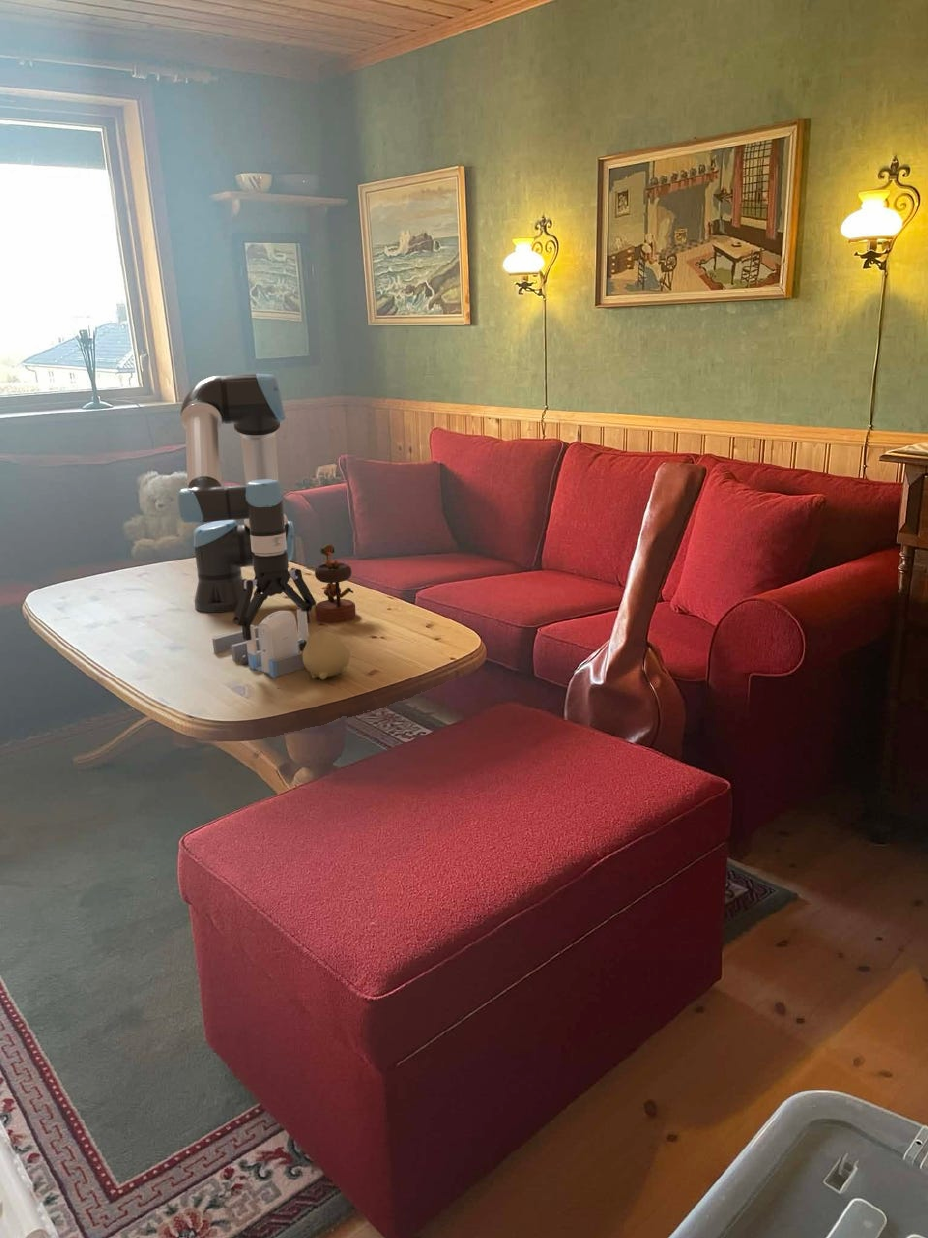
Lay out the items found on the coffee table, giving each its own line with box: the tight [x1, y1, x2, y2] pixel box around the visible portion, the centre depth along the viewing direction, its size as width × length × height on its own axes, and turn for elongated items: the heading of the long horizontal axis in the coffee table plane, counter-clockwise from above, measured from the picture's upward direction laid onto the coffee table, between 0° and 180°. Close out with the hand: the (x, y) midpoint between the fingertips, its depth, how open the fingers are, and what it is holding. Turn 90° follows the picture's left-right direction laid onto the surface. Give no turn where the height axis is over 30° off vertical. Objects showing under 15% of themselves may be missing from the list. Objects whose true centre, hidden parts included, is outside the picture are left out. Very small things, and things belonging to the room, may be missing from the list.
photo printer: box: [257, 610, 299, 674], centre depth 207 cm, size 10×4×12 cm, turn 155°
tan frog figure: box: [299, 630, 351, 680], centre depth 200 cm, size 10×12×11 cm
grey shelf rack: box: [212, 625, 307, 679], centre depth 216 cm, size 26×16×4 cm, turn 45°
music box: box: [314, 543, 357, 624], centre depth 242 cm, size 15×11×20 cm
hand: (278, 645), depth 207 cm, fingers open, 13 cm apart
